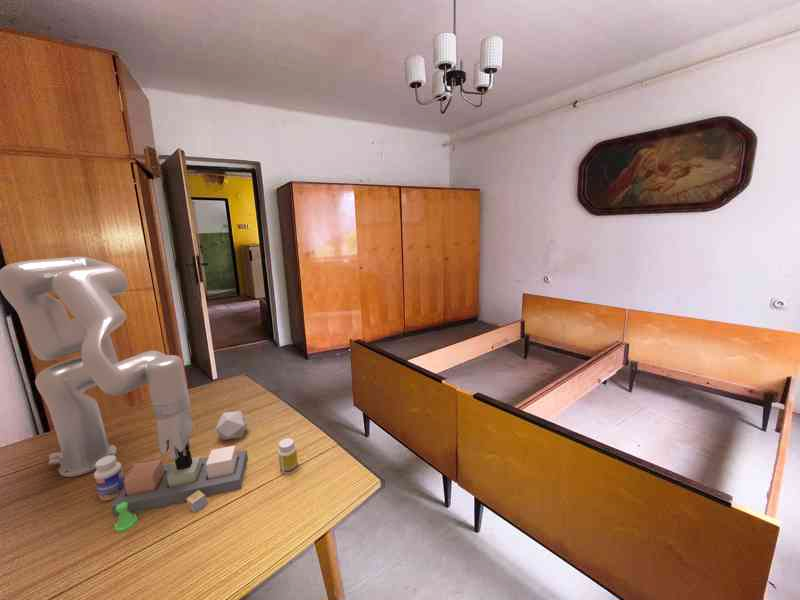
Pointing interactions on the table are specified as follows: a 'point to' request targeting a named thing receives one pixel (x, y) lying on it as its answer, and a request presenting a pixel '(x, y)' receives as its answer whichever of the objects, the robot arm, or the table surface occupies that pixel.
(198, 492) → the alphabet block
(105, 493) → the pill bottle
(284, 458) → the supplement bottle
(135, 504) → the board
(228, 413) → the die
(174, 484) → the green block
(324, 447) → the table surface
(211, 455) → the cream block
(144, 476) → the terracotta block
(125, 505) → the game piece
